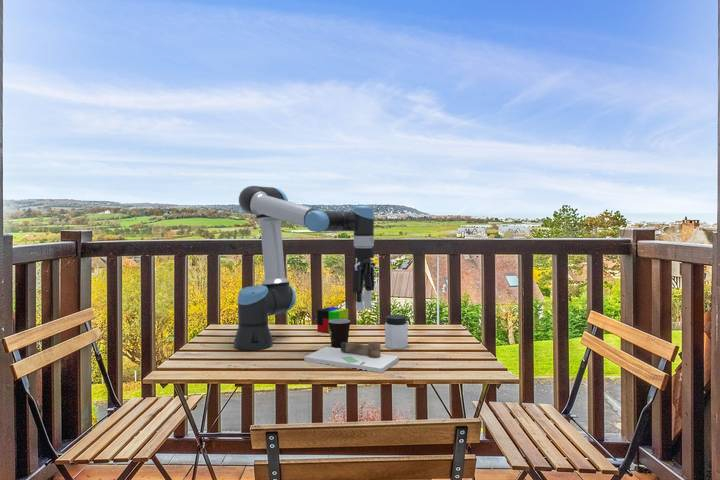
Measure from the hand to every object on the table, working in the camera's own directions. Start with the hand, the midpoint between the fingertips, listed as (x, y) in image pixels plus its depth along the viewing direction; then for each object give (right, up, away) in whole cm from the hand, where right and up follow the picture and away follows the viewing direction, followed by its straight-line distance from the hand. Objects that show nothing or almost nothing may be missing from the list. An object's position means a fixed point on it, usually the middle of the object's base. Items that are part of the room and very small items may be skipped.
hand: (363, 309), depth 169 cm
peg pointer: (-1, -15, -6) cm, 16 cm away
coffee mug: (-9, -17, +13) cm, 23 cm away
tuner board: (-4, -17, -8) cm, 20 cm away
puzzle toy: (-14, -16, +38) cm, 43 cm away
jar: (+13, -17, +11) cm, 24 cm away
